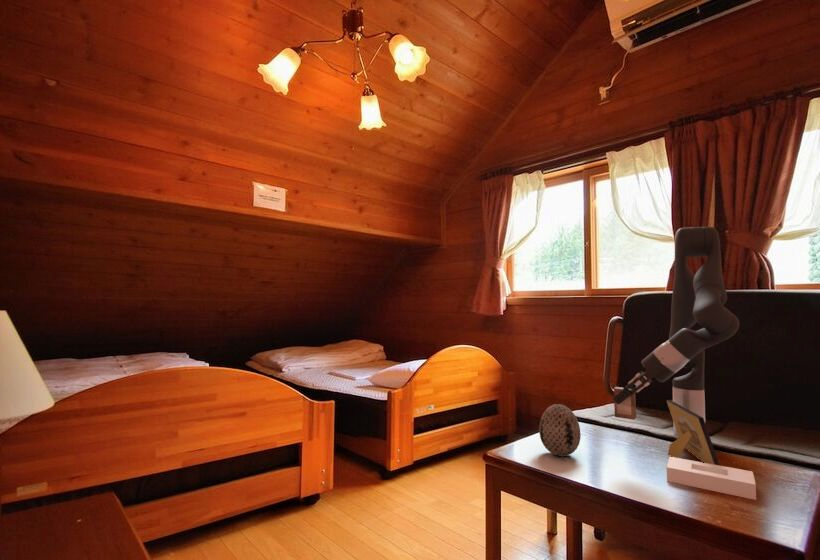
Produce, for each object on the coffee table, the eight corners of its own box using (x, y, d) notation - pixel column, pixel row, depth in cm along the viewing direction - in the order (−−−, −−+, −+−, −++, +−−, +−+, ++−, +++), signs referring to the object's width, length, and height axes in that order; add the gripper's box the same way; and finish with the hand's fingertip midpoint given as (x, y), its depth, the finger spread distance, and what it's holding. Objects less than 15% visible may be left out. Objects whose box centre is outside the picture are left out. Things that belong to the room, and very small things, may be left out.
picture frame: (722, 473, 117) (713, 417, 118) (685, 474, 119) (677, 418, 120) (686, 446, 140) (679, 399, 141) (656, 447, 141) (649, 401, 143)
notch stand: (670, 469, 120) (669, 456, 120) (753, 485, 109) (752, 471, 109) (666, 481, 111) (666, 467, 112) (756, 499, 101) (755, 484, 101)
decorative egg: (552, 463, 123) (552, 409, 124) (532, 449, 134) (532, 400, 135) (589, 460, 125) (588, 408, 126) (566, 447, 137) (566, 399, 138)
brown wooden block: (616, 414, 125) (615, 386, 126) (636, 417, 122) (635, 388, 123) (614, 417, 123) (613, 388, 123) (634, 419, 120) (633, 390, 120)
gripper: (656, 348, 125) (611, 386, 131) (650, 352, 113) (601, 393, 120) (678, 369, 121) (631, 406, 128) (674, 375, 110) (622, 416, 116)
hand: (617, 400), depth 124 cm, fingers closed on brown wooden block, 3 cm apart
